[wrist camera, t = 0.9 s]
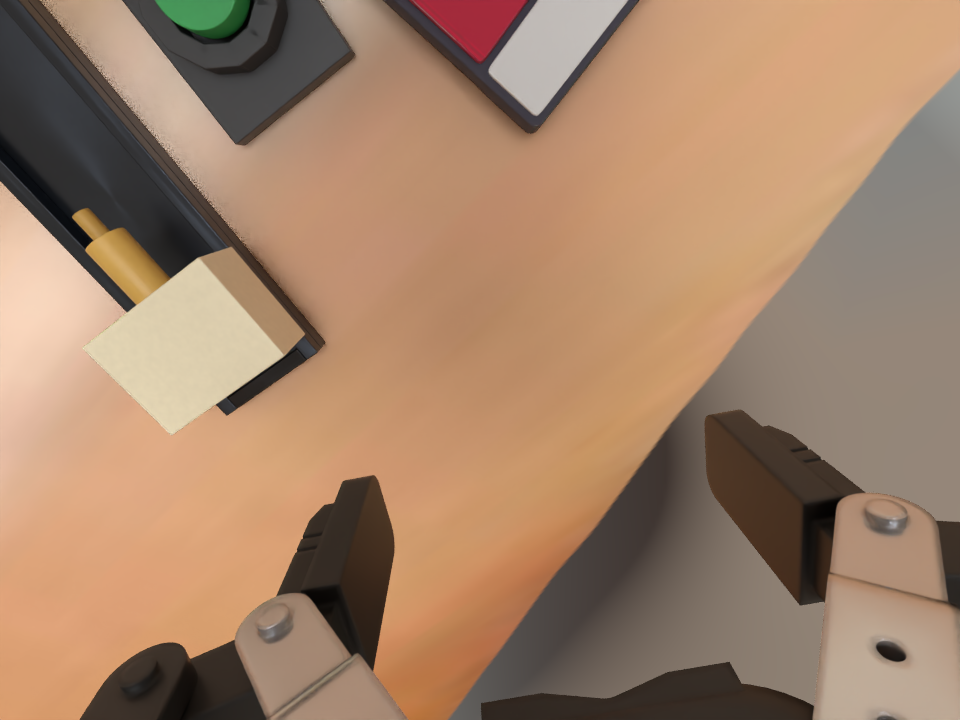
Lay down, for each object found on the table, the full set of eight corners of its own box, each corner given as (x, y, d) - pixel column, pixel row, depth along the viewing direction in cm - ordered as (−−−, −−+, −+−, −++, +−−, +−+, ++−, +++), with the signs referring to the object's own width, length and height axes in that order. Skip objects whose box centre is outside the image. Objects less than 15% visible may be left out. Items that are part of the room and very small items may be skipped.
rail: (-128, 15, 30) (-172, 4, 28) (-31, -84, 28) (-70, -104, 26) (239, 403, 39) (226, 416, 37) (325, 342, 37) (317, 352, 35)
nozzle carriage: (70, 250, 33) (-5, 265, 28) (174, 164, 32) (115, 162, 26) (213, 398, 37) (171, 436, 32) (311, 328, 36) (284, 355, 30)
